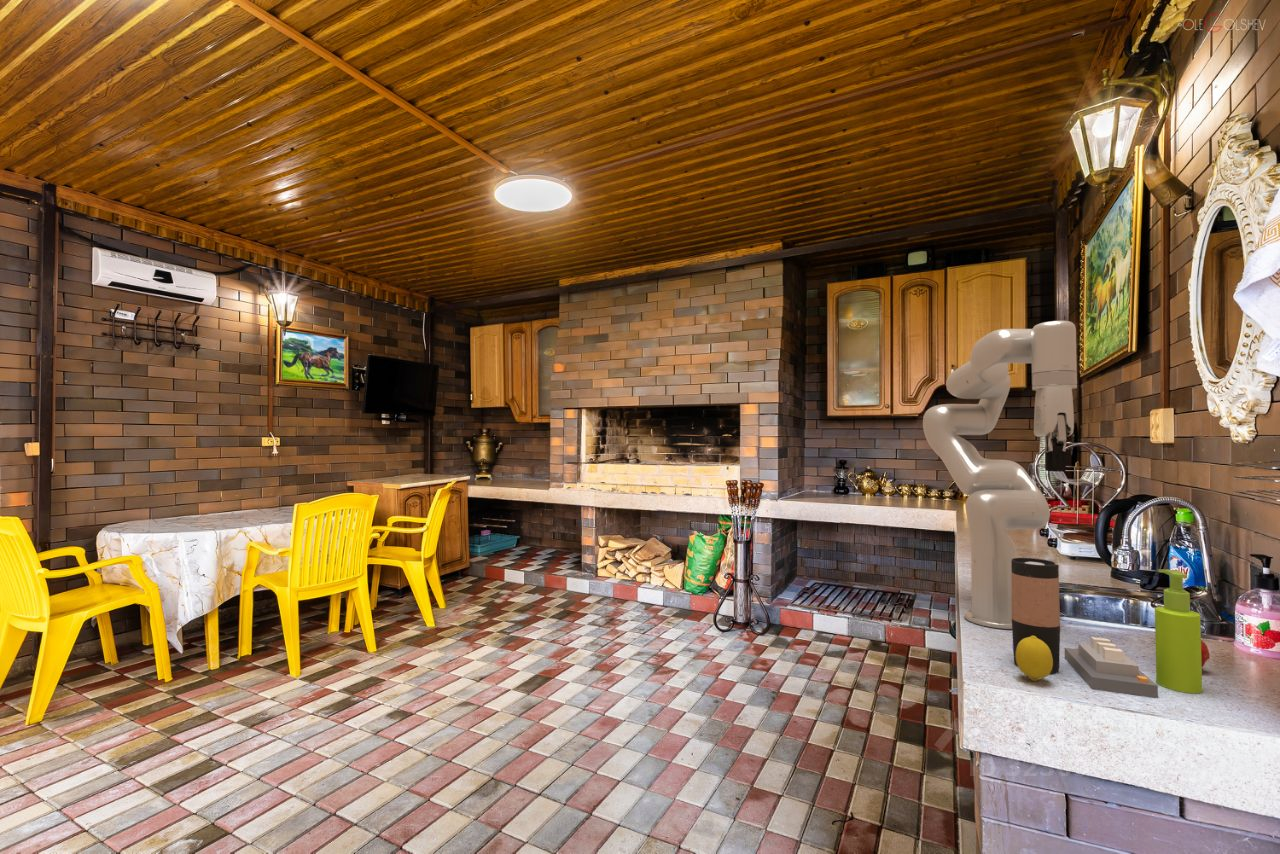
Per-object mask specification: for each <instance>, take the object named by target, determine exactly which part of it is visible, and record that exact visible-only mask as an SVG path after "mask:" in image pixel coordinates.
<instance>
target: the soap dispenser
mask: <svg viewBox="0 0 1280 854" xmlns="http://www.w3.org/2000/svg"><path fill="white" fill-rule="evenodd" d="M1157 572H1158V573H1163V574H1165V575H1168V576H1169V587H1167V588H1164V589H1163V606H1156V607H1154V625H1155V627H1154V630H1155V631H1154V633H1155V634H1154V635H1155V636H1154V638H1155V676H1156V677H1155V679H1156V681H1155V683H1157V684H1158V685H1159V686H1161V687H1164V688H1166V689H1169V690H1172V691H1175V692H1181V693H1184V694H1185V693H1187V694H1201V693H1202V692H1203V669H1202V668H1203V667H1202V663H1201V640H1202V635H1201V633H1202V631H1201V630H1202V629H1201V613H1199V612H1196V611H1193V610H1191V595H1190V592H1188V591H1186V590H1185V589H1184V579H1188V574H1186V573H1184V572H1182V571H1179V570H1177V569H1165V568H1164V569H1161V568H1160V569H1157Z"/></svg>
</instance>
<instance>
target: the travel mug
mask: <svg viewBox="0 0 1280 854" xmlns="http://www.w3.org/2000/svg"><path fill="white" fill-rule="evenodd" d="M1059 567H1060V565H1059V564H1056V562H1054V561H1052V560H1047V559H1041V558H1033V557H1017V558H1013V559H1012V561H1011V581H1012V629H1011V634H1012V652H1013V655H1012V656H1013V663H1014V665H1015V666H1016V667H1018V665H1017V662H1016V648H1017V645H1018V643H1019V642H1020V641H1021V640H1022V639H1024V638H1027V637H1031V636H1036V637H1037V638H1038V639H1040V640H1042V641H1043V642H1044V643H1046V644H1047V646H1048V647H1049V649H1050V651H1051V654H1052V658H1053V667H1052V670H1051V672H1050V674H1049V675H1054V674H1058V673H1059V671H1060V652H1061V651H1060V650H1061V648H1060V646H1061V645H1060V644H1061V612H1060V611H1061V608H1060V606H1061V605H1060V580H1059V579H1060V578H1059V576H1060V575H1059V569H1060V568H1059Z"/></svg>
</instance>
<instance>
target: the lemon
mask: <svg viewBox="0 0 1280 854" xmlns="http://www.w3.org/2000/svg"><path fill="white" fill-rule="evenodd" d="M1016 662H1017V665H1018V666H1017V667H1018V668H1019V670H1020V672H1022V673H1023V674H1024V675H1025V676H1027V677H1028V678H1029V679H1030V680H1031V681H1034V682H1037V681H1038V680H1040V679H1043V678H1046V677H1048V676H1049V675H1051V674H1050V672H1051V670H1052V667H1053V658H1052V654H1051V651H1050V649H1049V647H1048V646H1047V644H1046V643H1044V642H1043V641H1042V640H1040V639H1038V638H1037V637H1036V636H1031V637H1027V638H1024V639H1022V640H1021V641H1020V642H1019V643H1018V645H1017V648H1016Z"/></svg>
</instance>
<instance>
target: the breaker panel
mask: <svg viewBox="0 0 1280 854" xmlns="http://www.w3.org/2000/svg"><path fill="white" fill-rule="evenodd" d="M1090 637H1091V638H1090V643H1091V644H1088V643H1079V642H1078V644H1077V647H1078V648H1071V647H1064V649H1063V651H1064V659H1065V660H1066V661H1067V663H1068V664H1069V665H1070V666H1071V667H1072V668H1073V669H1074V670H1075V672H1077V674H1078V675H1079V676H1080V677H1081V678H1082V679H1083V680H1084V681H1085V682H1086V683H1087V685H1088V686H1089V687H1090V688H1091V689H1092V690H1099V691H1106V692H1112V693H1120V694H1125V695H1127V694H1128V695H1134V696H1142V697H1149V698H1157V699H1158V698H1159V686H1158V685H1157V684H1156V682H1154V681H1153V680H1152V679H1151V678H1150V677H1148V676H1147V675H1146V674H1144V673H1143V671H1141V670H1140V665H1138V664H1137V663H1136V662H1135V661H1134V660H1132V659H1131V658H1130V657H1129V656H1127V655H1126V654H1125V653H1124V650H1122V649H1121V648H1118V646H1117V645H1116V644H1115V643H1112V641H1111V639H1109V638H1102V637H1095V636H1090Z"/></svg>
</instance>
